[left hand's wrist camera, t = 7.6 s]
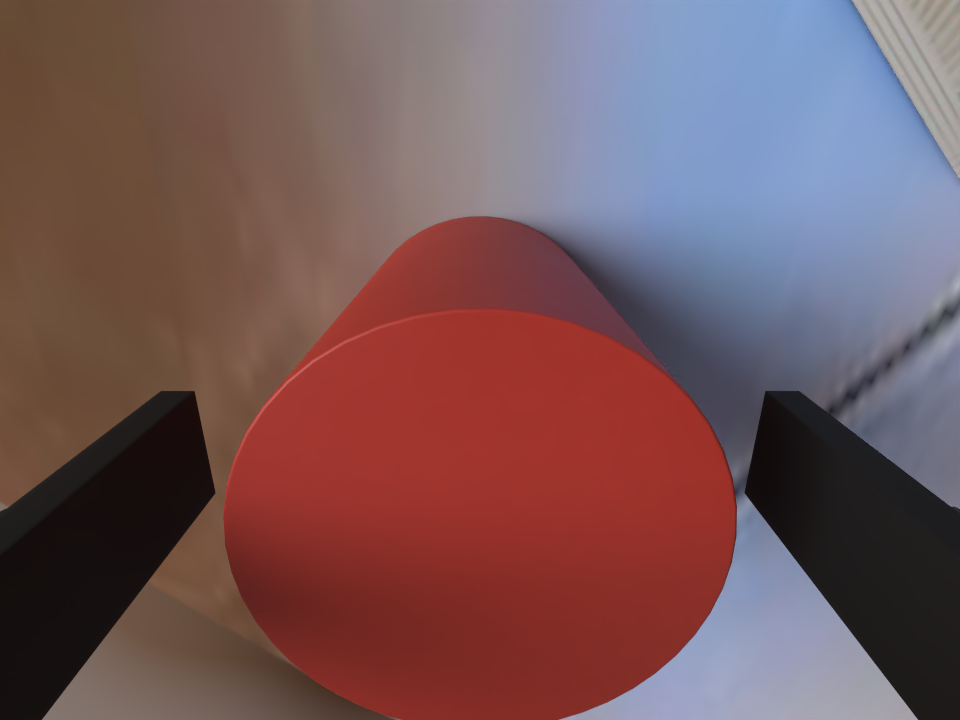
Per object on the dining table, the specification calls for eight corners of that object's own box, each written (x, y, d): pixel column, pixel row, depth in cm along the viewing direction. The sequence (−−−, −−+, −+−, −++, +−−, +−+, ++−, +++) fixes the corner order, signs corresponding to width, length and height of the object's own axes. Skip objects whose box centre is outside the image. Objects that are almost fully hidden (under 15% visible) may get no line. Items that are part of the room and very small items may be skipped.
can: (317, 287, 20) (110, 460, 9) (535, 169, 18) (620, 198, 7) (434, 471, 22) (391, 781, 11) (631, 381, 21) (800, 636, 10)
